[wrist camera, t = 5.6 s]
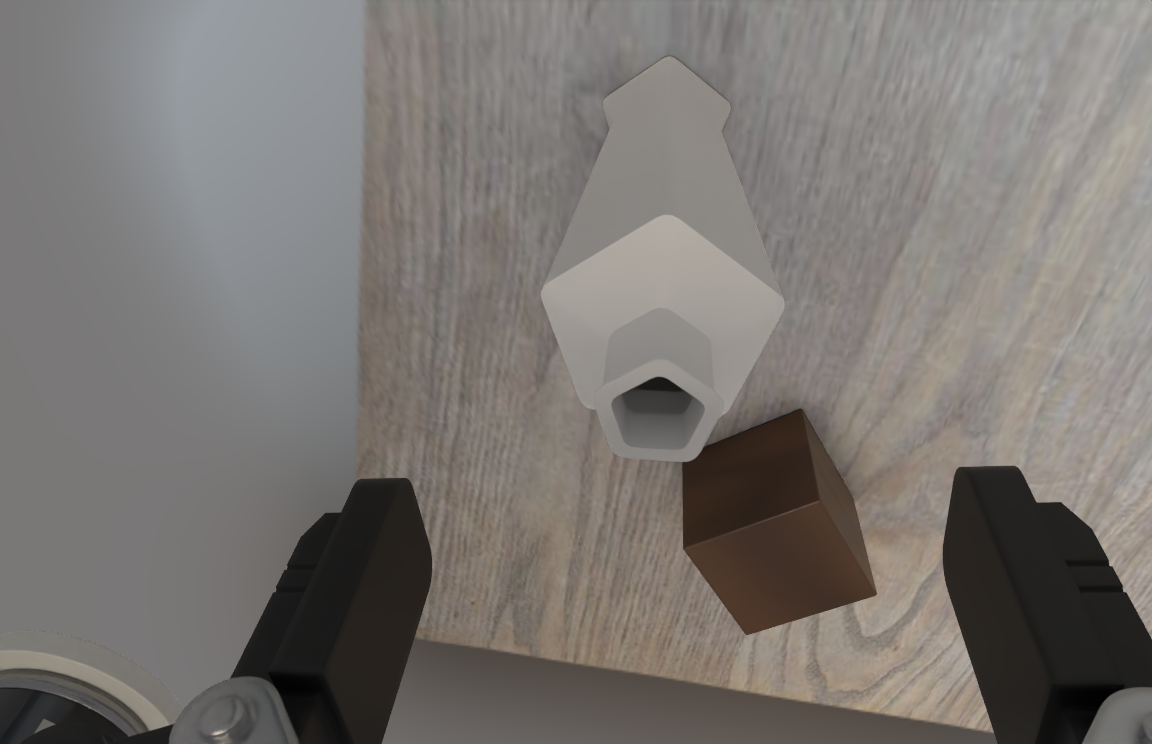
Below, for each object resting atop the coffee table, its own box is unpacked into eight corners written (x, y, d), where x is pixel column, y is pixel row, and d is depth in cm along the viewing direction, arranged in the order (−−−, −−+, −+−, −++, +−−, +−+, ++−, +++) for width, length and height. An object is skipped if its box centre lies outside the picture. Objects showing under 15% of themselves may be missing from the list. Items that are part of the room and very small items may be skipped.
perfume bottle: (757, 172, 28) (824, 493, 15) (622, 207, 29) (583, 532, 16) (726, 25, 25) (776, 263, 13) (581, 69, 26) (497, 326, 14)
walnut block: (737, 539, 36) (746, 636, 32) (681, 456, 34) (682, 548, 30) (853, 498, 35) (878, 595, 30) (801, 408, 32) (820, 500, 28)
